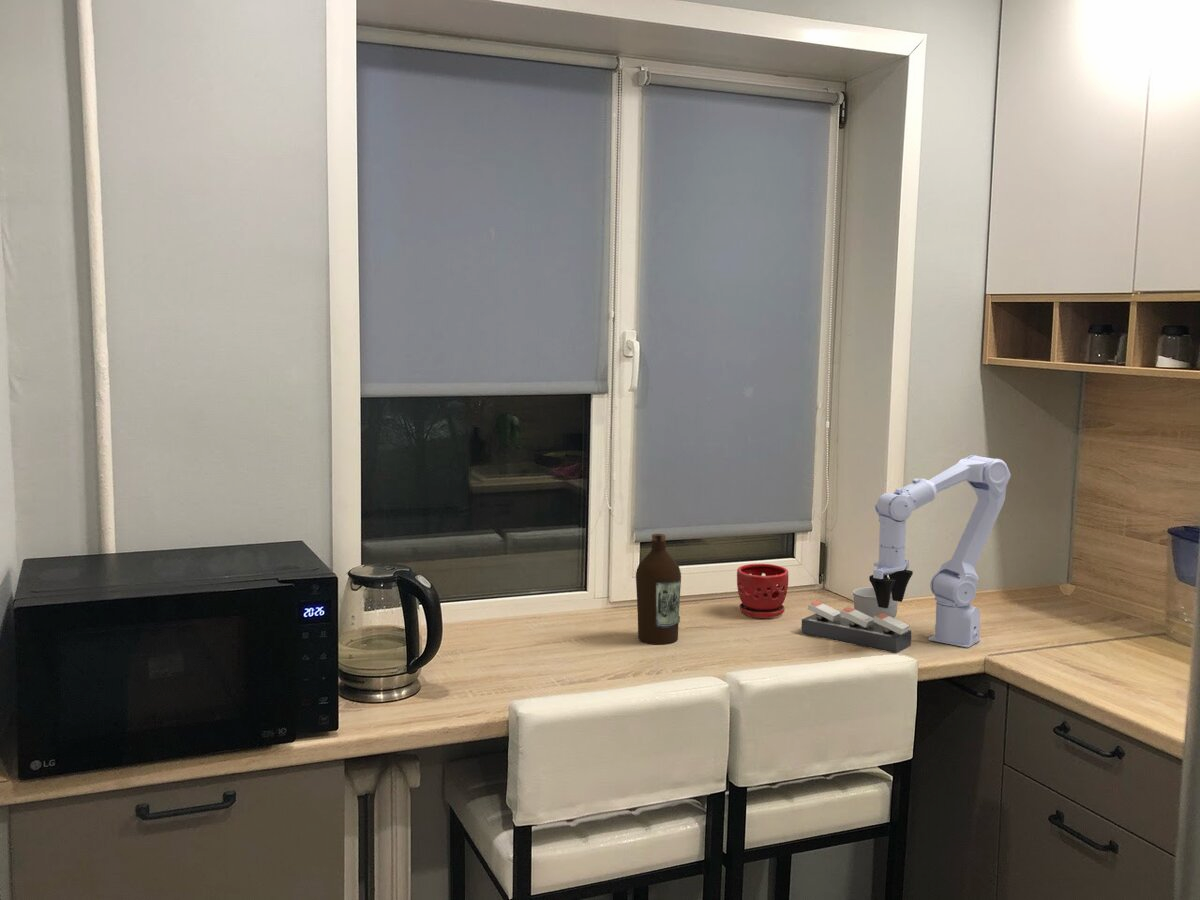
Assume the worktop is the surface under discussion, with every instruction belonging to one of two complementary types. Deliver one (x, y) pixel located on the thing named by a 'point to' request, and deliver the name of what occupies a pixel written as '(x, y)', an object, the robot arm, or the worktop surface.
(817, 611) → the rocker
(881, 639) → the switch panel
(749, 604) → the plant pot
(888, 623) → the block
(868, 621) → the block
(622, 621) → the worktop surface
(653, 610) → the olive oil
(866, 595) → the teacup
